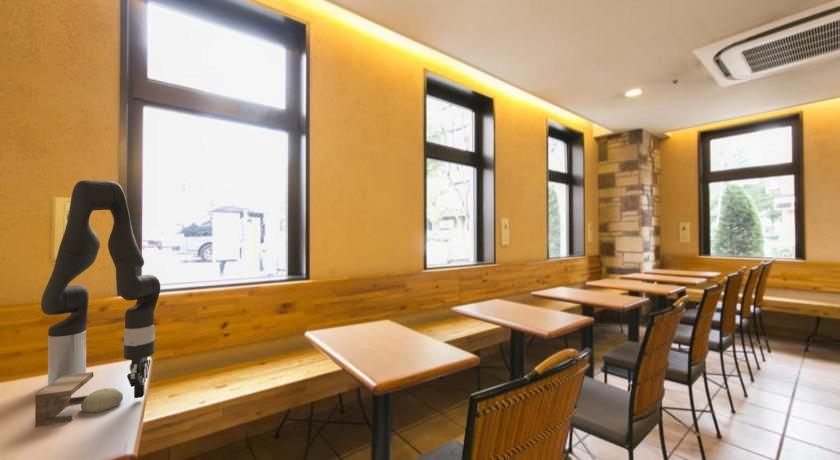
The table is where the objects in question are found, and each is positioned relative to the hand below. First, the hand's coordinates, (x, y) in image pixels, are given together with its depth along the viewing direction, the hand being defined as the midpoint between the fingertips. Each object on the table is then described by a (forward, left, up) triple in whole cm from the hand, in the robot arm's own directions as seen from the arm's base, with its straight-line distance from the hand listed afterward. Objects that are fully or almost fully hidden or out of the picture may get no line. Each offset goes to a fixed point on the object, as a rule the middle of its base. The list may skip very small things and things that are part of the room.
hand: (139, 396), depth 108 cm
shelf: (0, -16, -1) cm, 16 cm away
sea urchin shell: (0, -9, -2) cm, 9 cm away
